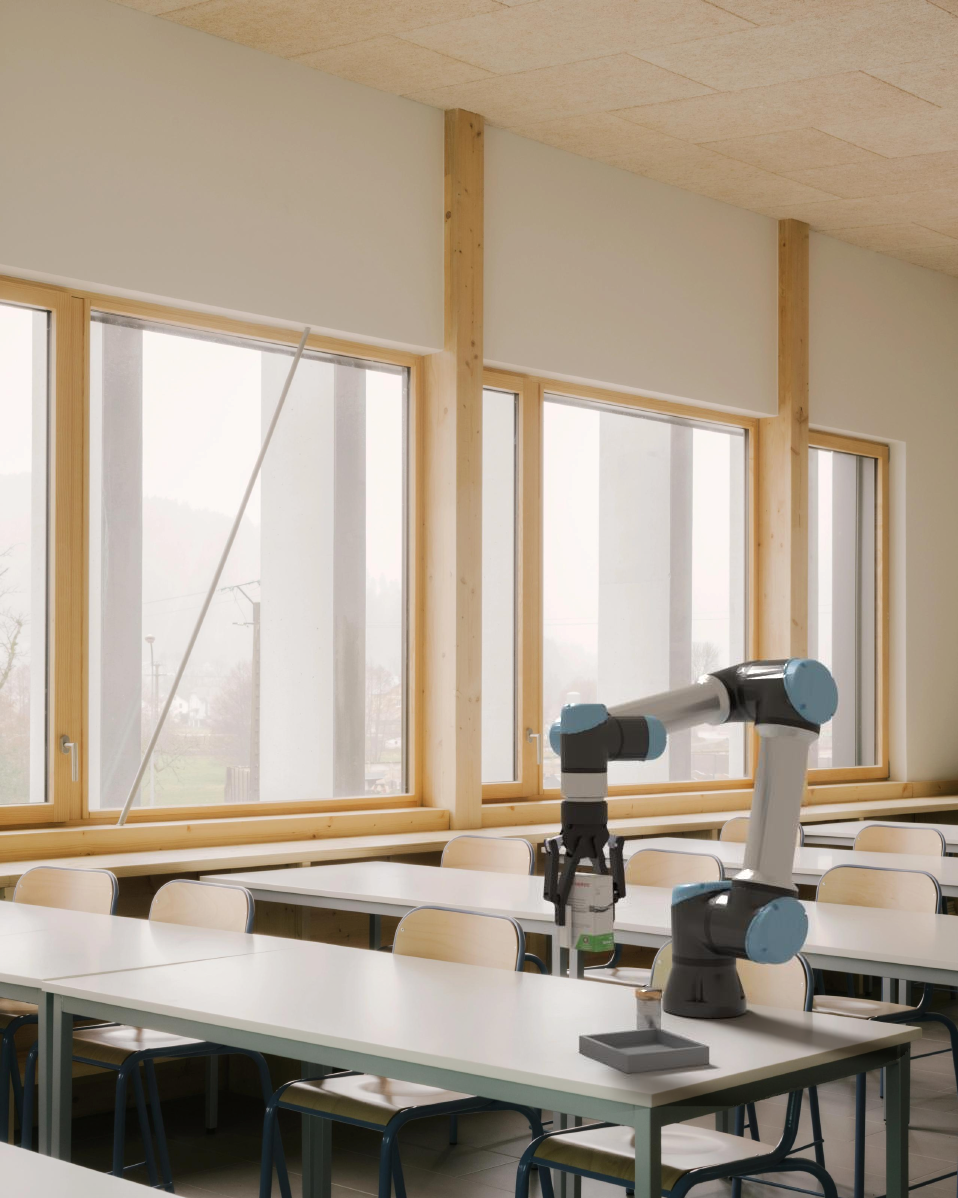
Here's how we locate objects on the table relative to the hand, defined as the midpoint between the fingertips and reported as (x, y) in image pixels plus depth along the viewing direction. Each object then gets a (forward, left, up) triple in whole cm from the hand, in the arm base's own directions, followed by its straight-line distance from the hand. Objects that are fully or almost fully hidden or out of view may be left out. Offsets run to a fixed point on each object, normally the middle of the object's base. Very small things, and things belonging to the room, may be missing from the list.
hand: (585, 945), depth 225 cm
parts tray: (-6, +8, -17) cm, 19 cm away
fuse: (-14, -4, -17) cm, 22 cm away
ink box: (0, 0, -1) cm, 1 cm away
